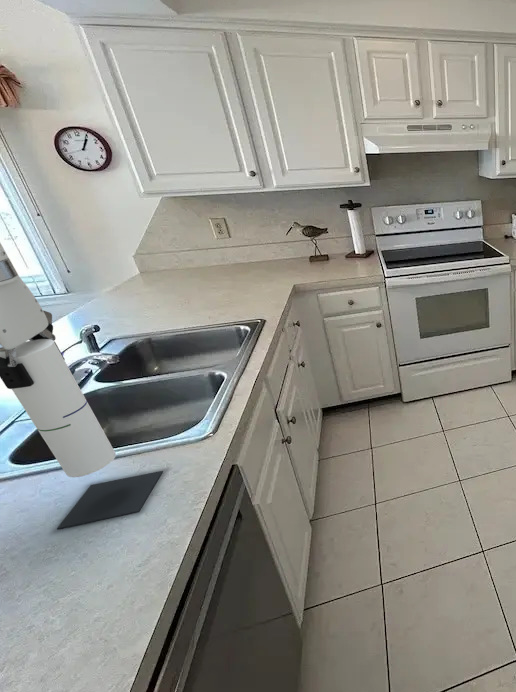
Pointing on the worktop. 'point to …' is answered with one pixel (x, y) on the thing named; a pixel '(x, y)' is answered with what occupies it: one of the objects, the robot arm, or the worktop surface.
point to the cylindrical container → (61, 410)
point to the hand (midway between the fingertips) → (38, 373)
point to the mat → (111, 499)
